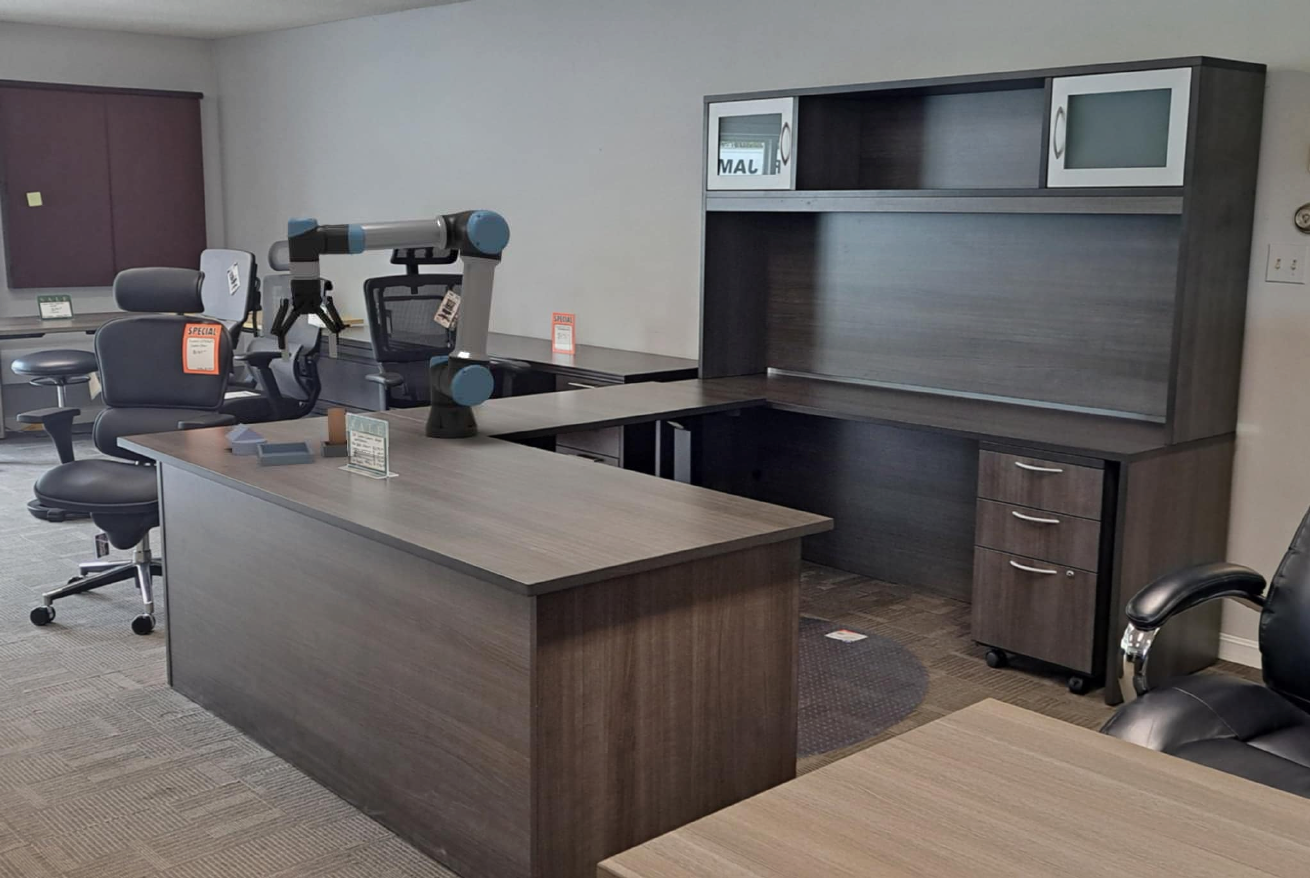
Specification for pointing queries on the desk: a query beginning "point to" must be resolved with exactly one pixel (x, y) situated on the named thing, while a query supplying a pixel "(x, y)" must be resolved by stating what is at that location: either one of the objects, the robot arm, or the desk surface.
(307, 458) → the tray
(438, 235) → the robot arm
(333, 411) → the dowel
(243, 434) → the wedge on round base
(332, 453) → the grey square open box
